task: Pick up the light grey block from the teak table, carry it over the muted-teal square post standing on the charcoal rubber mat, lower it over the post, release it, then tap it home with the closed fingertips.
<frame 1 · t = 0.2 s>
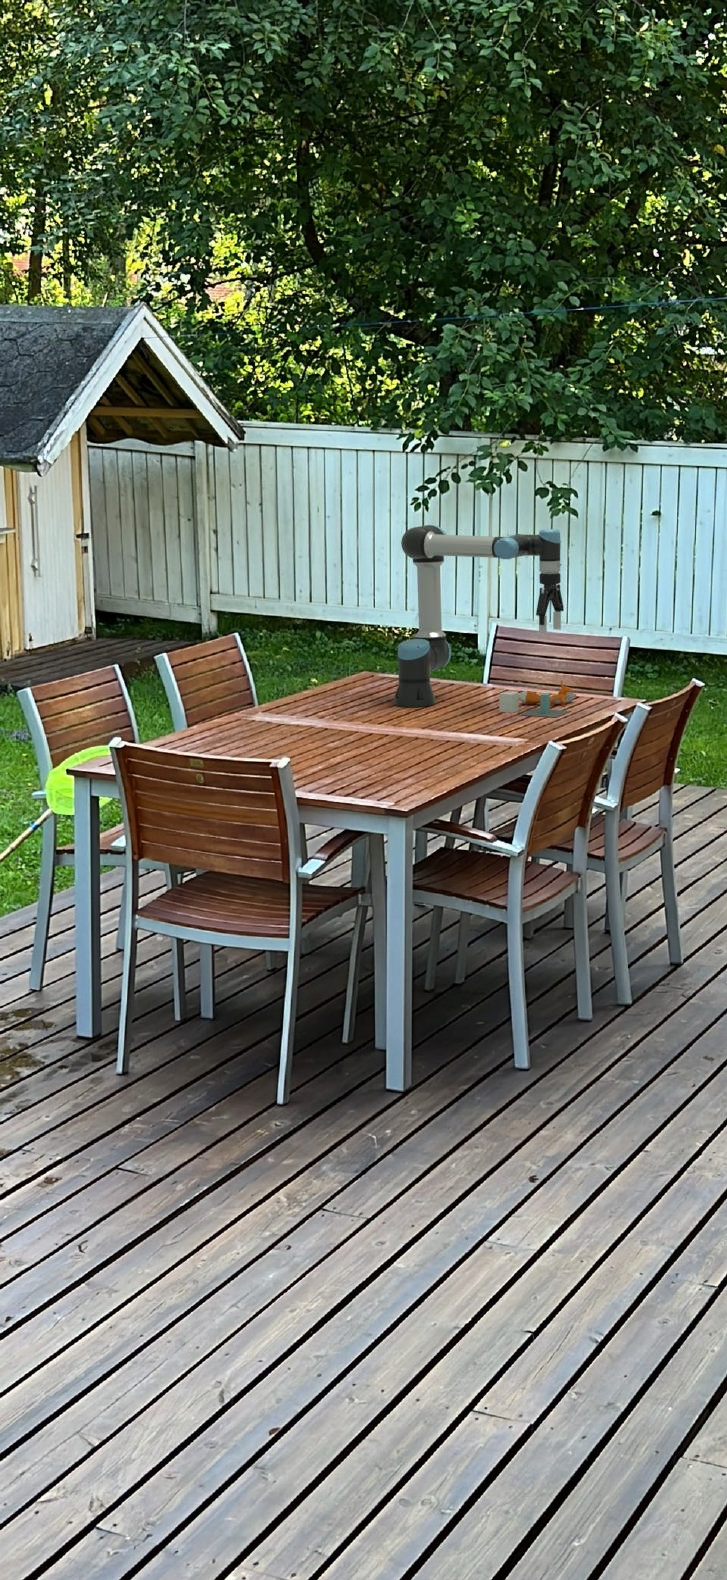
hand: (550, 631, 648), 27 cm above the table, fingers open, 13 cm apart
light grey block: (509, 711, 645), on the table
toy: (546, 705, 660), on the table
post: (545, 713, 639), resting on mat
mat: (545, 713, 639), on the table
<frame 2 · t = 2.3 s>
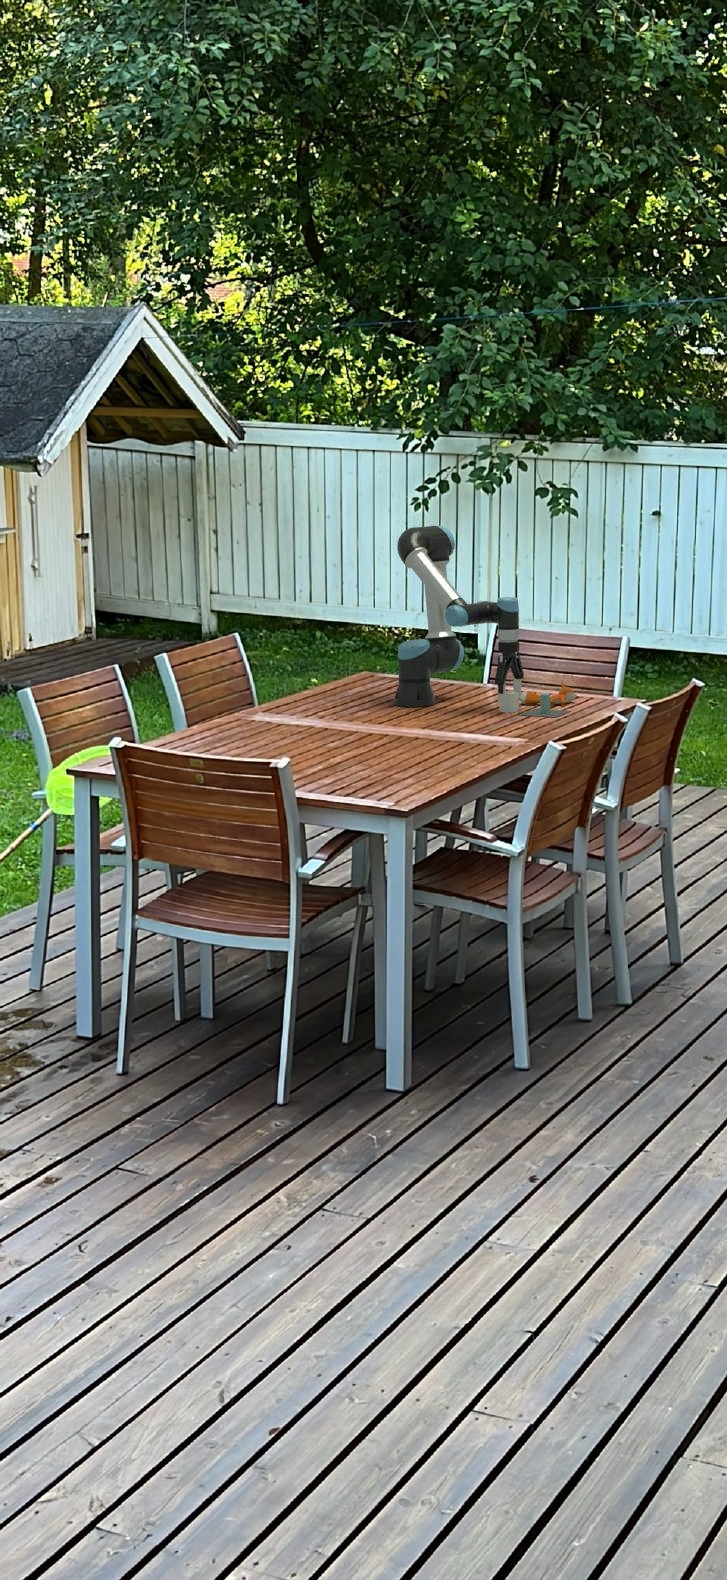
hand: (509, 699, 644), 4 cm above the table, fingers open, 13 cm apart
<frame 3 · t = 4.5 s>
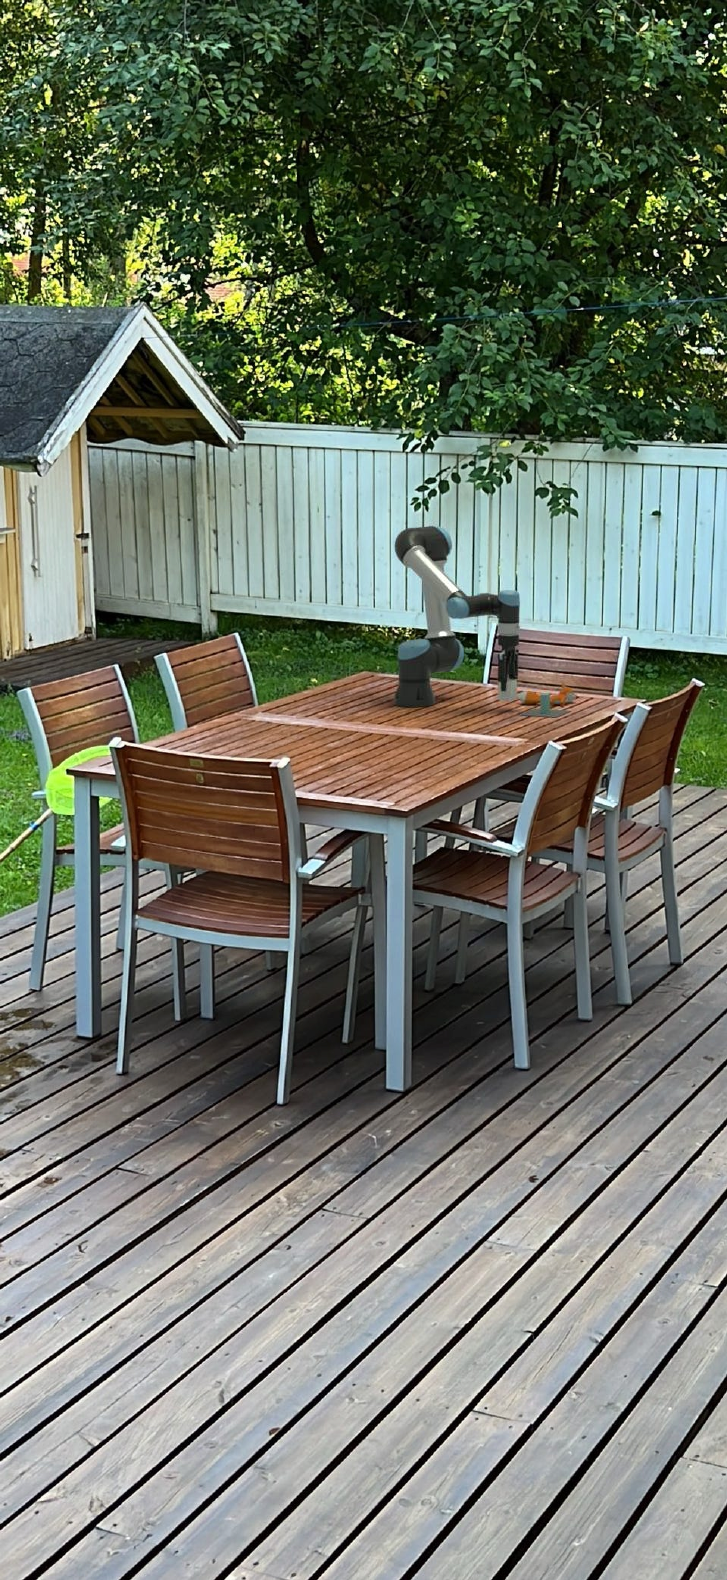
hand: (507, 698, 645), 5 cm above the table, fingers closed on light grey block, 5 cm apart
light grey block: (507, 699, 645), point 4 cm above the table, touching gripper
everything else where it was.
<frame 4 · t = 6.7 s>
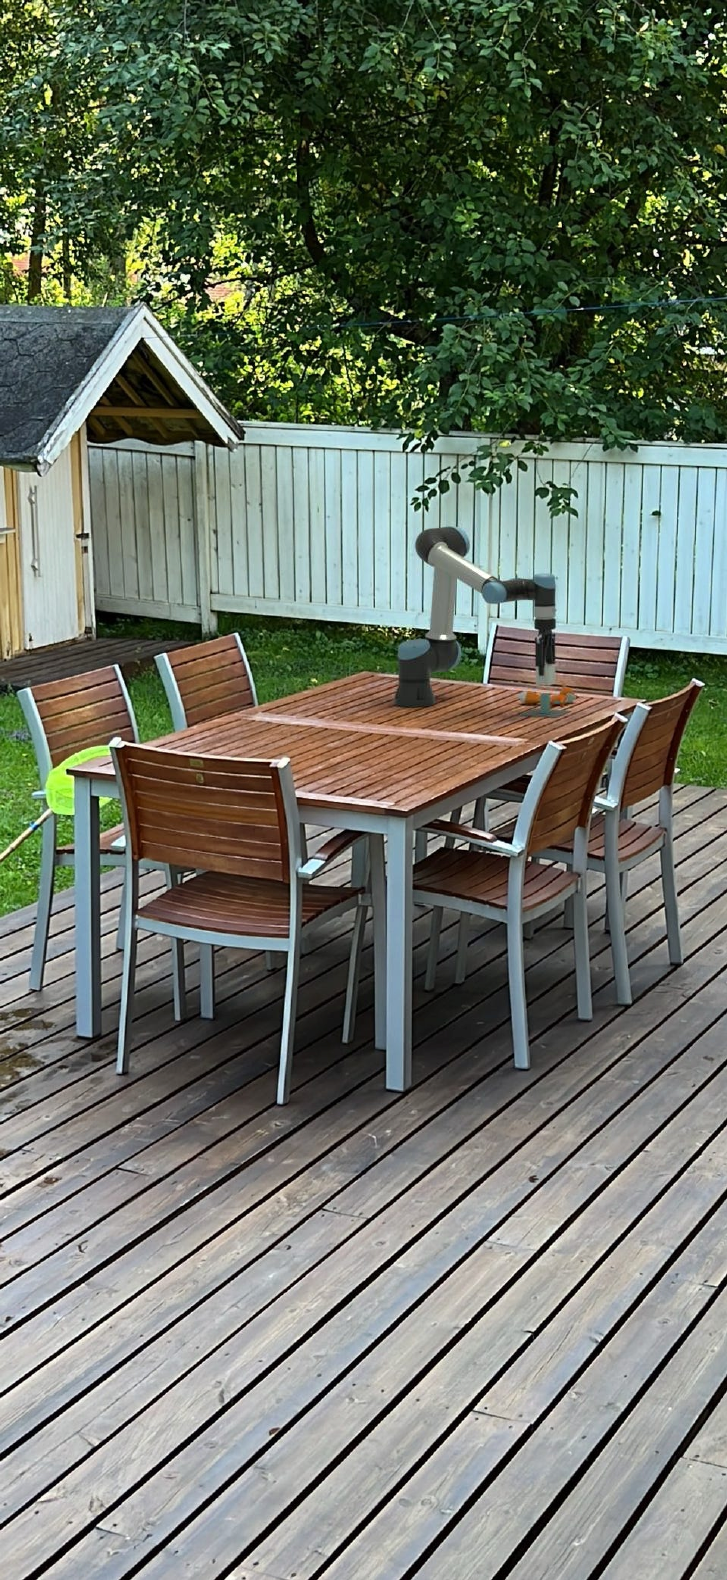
hand: (545, 683, 636), 11 cm above the table, fingers closed on light grey block, 5 cm apart
light grey block: (545, 683, 636), point 11 cm above the table, touching gripper
when the fingers open (2 cm above the table, at t = 8.9 s): light grey block stays where it is, resting on post.
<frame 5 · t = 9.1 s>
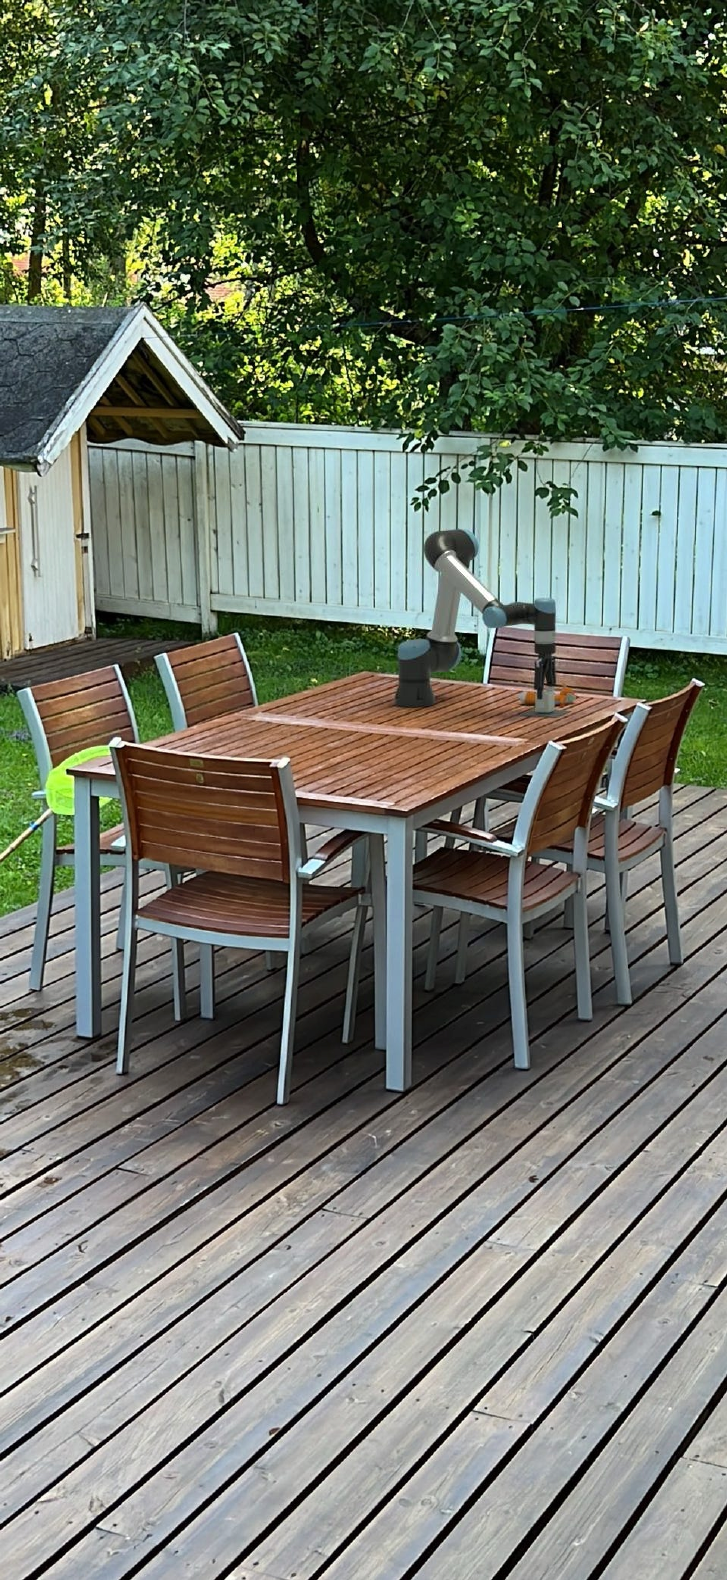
hand: (545, 706, 638), 3 cm above the table, fingers open, 7 cm apart
light grey block: (545, 710, 639), point 1 cm above the table, touching post
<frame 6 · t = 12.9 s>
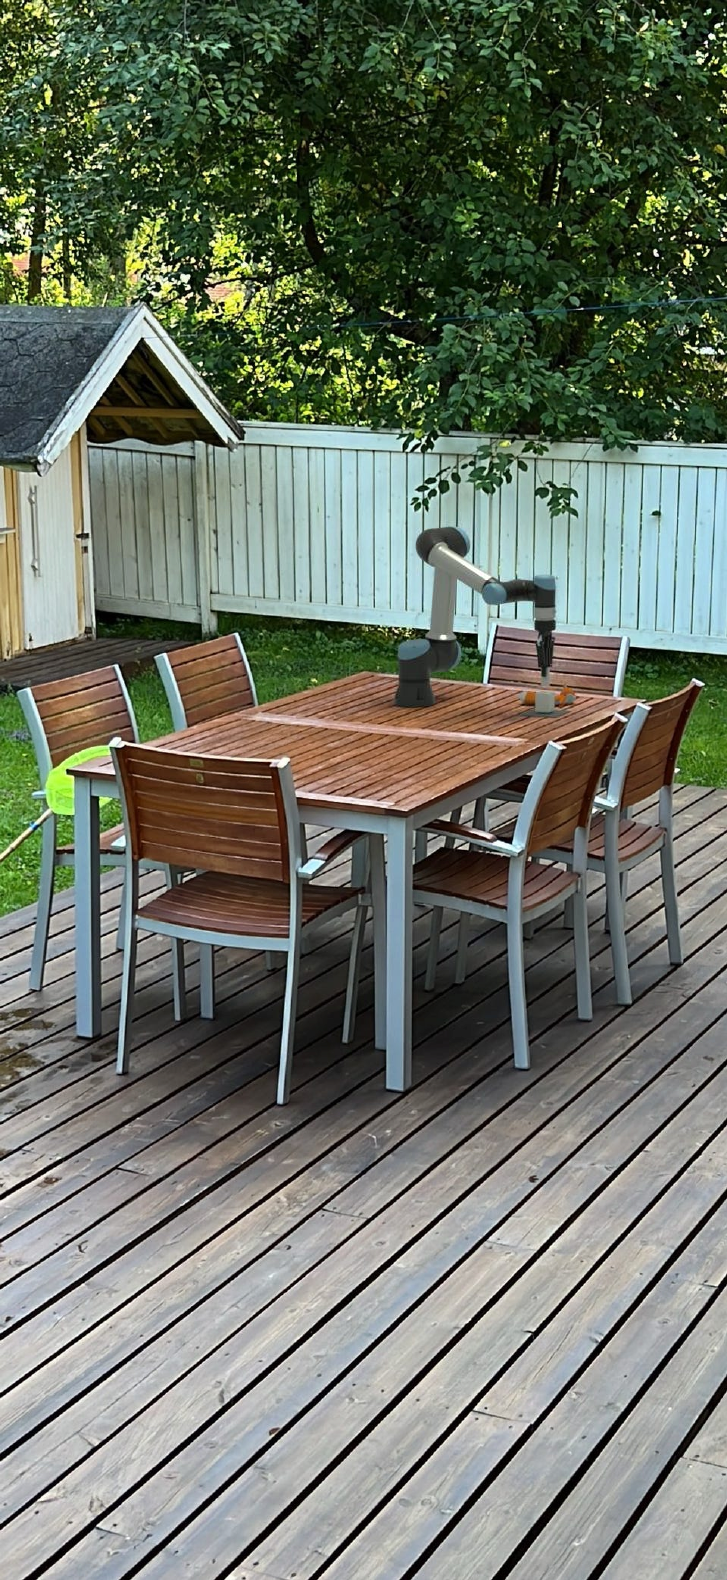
hand: (545, 685, 636), 10 cm above the table, fingers closed
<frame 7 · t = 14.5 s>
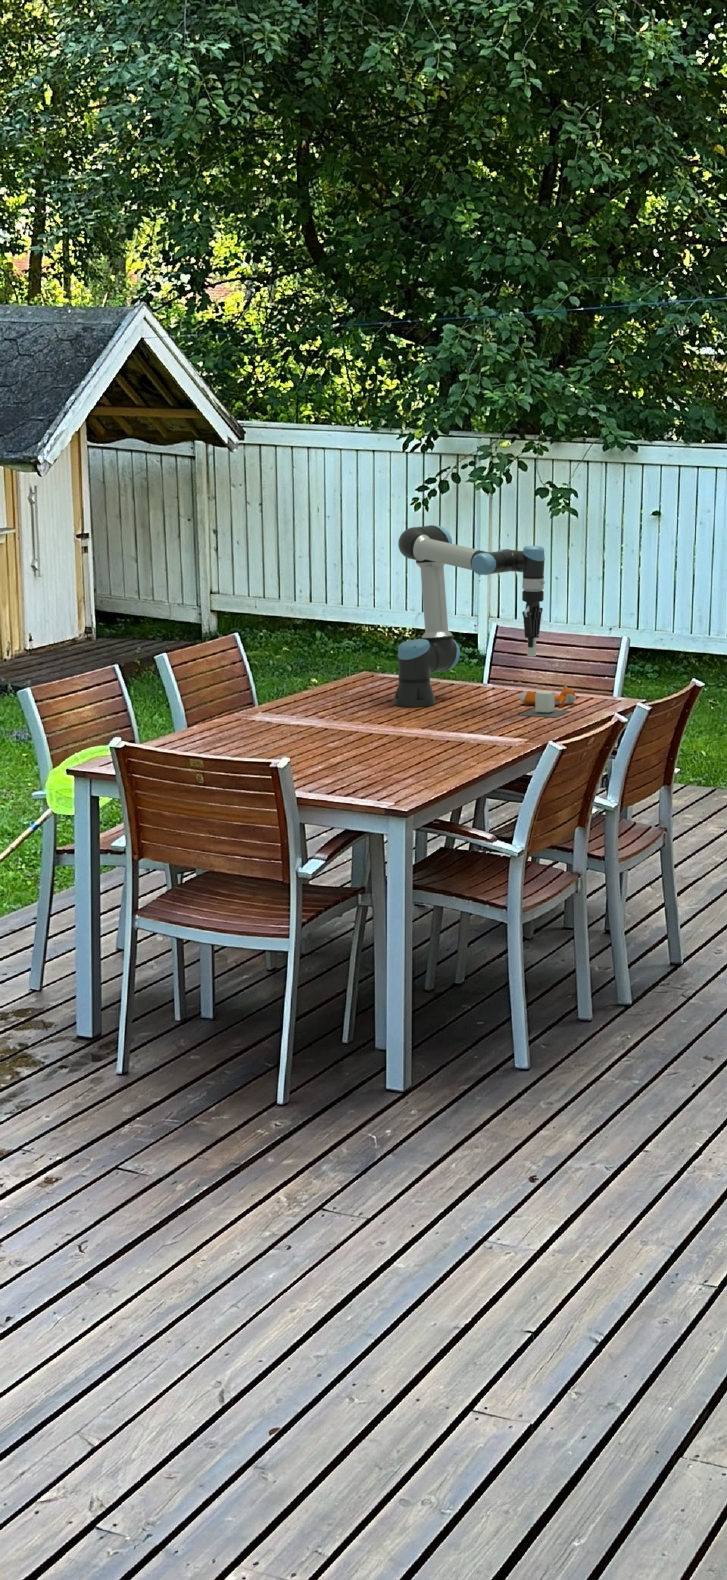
hand: (531, 655, 641), 20 cm above the table, fingers closed
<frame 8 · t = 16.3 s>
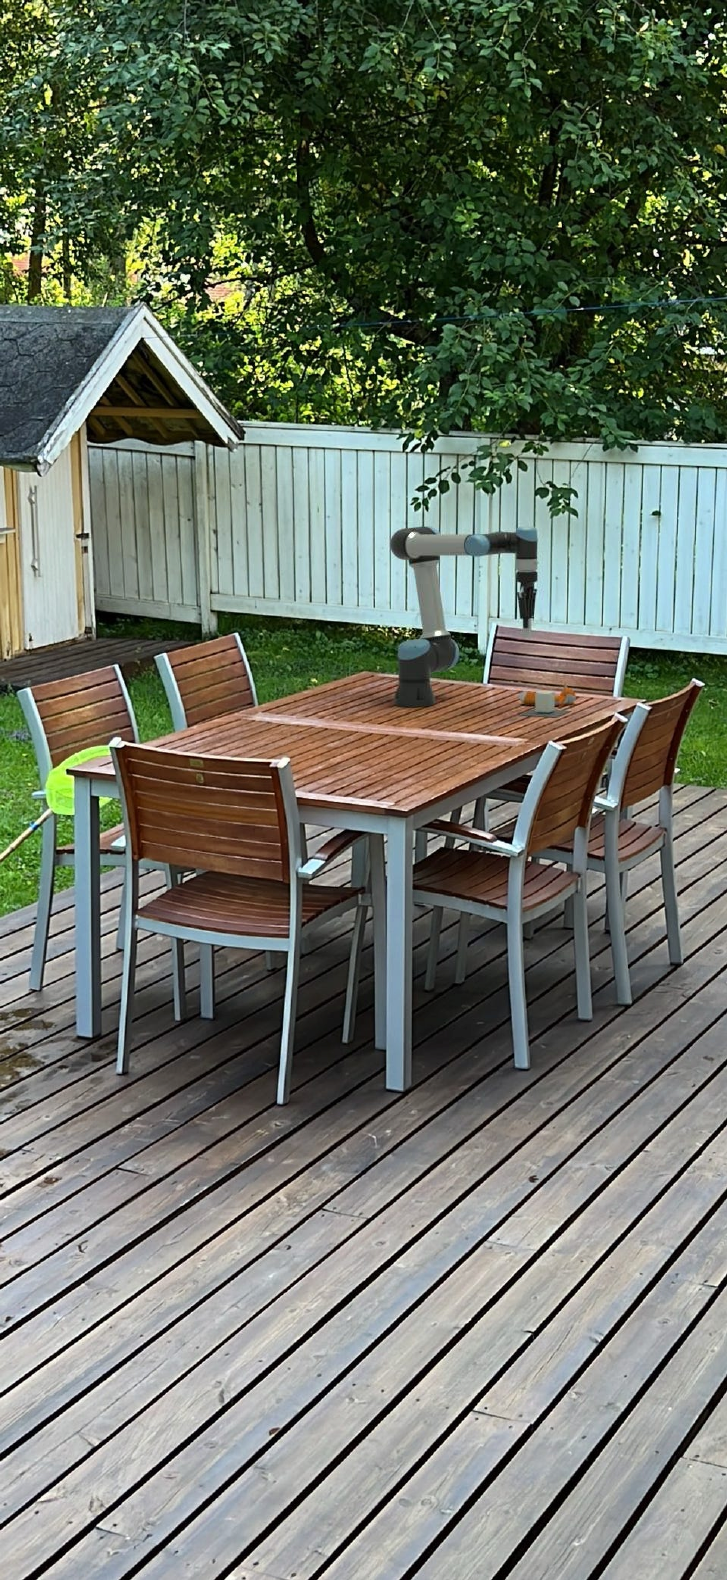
hand: (527, 636, 642), 26 cm above the table, fingers closed
at the end: light grey block 0.1 cm from the post (horizontally); light grey block point 1.0 cm above the table; the gripper is holding nothing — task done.
